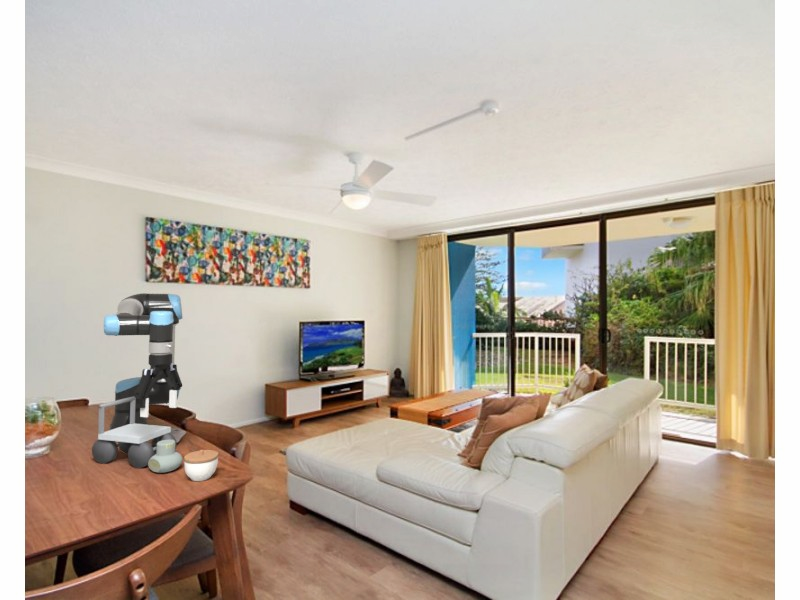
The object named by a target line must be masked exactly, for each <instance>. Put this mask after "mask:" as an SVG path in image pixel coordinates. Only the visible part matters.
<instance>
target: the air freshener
mask: <svg viewBox="0 0 800 600" xmlns="http://www.w3.org/2000/svg"><path fill="white" fill-rule="evenodd" d="M183 462H184V457H183V456H182V454H181V453H180V452H178V451H176V450H175V441H174V440H162V441H159V442H158V443H157V450H156V454H155V453H154V456H152V457H151V458H150V460H149V461H148V465H147V466H148V468H149V469H150V471H152V472H154V473H156V474H163V473H169V472H172V471H175V470H177V468H179V467H180V466H181V465H182V463H183Z"/></svg>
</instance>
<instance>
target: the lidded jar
mask: <svg viewBox="0 0 800 600" xmlns="http://www.w3.org/2000/svg"><path fill="white" fill-rule="evenodd" d="M219 454H220V453H219V451H217V450H213V449H200V450H195V451H191V452H189V453H187V454H185V455H184V457H183V463H184V465H183V466H184V467H183V468H184V472H185V474H186V476H187V477H188V478H189V479H190V481H193V482H203V481H206V480H209V479H210V478H211V477H212V476H213V474H214V473H215V472H216V470H217V468H218V464H219Z"/></svg>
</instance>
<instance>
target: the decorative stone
mask: <svg viewBox="0 0 800 600" xmlns="http://www.w3.org/2000/svg"><path fill="white" fill-rule="evenodd" d="M169 433H170V434H172V435H173V436H174V438H175V440H176V443H177V444H178V443H179V442H180V441H181V439H182V437H184V435H185V434H186V433H187V431H186V430H183V429H182V428H181V429H180V428H174V427H171V432H169ZM153 439H154V438H153ZM153 439H152V440H153Z"/></svg>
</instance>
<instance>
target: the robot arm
mask: <svg viewBox="0 0 800 600" xmlns="http://www.w3.org/2000/svg"><path fill="white" fill-rule="evenodd" d="M182 308H183V307H182V301H181V297H180V296H179V295H178V294H175V293H174V294H173V293H172V294H171V293H145V292H144V293H136V294H131V295H130V296H127V297H125V298H123V299H122V300H121V301H120V302H119V303H118V305H117V312H116V314H108V315H107V314H106V315H105V316H104V319H103V333H104V335H106V336H113V337H114V336H115V337H116V336H117V337H118V336H149V340H148V353H149V355H148V365H149V366H150V367H149V369H147V368H143V369H142V374H141V376H139V377H137V376H136V377H131V378H126V379H122V380H120V381H118V382H117V383H116V384H115V391H114V401H116V400H120V399H124V398H129V397H133V396H134V397H135V398H136V400H135V423H136V424H146V425H149V422H148V421H149V420H147V418H149V411H150V410H149V406H150V405H163V404H166V405H168V408H170V409H177V407H178V406H177V405H178V399H179V395H180V390H181V389H182V387H183V383H182V380H181V377H180V374H179V372H178V369H177V368H178V366H177V364H175V353H176V352H175V348H176V326H177V325H178V324H179V323H180V320H182V319H183V309H182ZM128 424H130V401H129V402H125V403H121V404H117V405H114V415H113V418H112V420H111V423H110V425H109V430H112V429H115V428H119V427H122V426H125V425H128Z"/></svg>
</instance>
